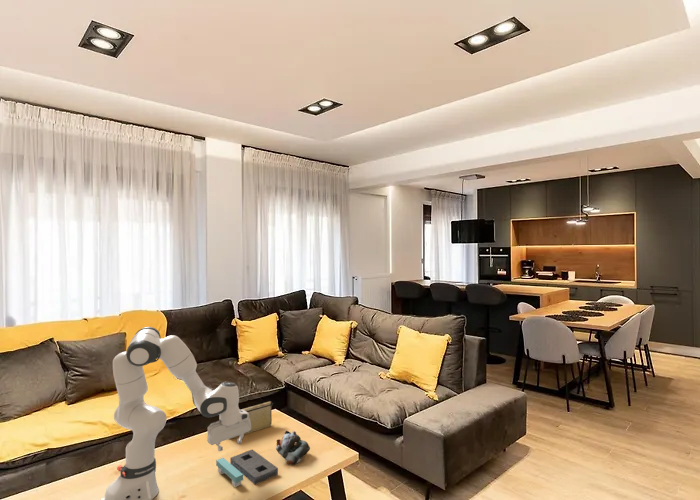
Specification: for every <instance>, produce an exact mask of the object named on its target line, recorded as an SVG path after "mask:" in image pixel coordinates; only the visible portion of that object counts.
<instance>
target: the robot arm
mask: <svg viewBox="0 0 700 500" xmlns="http://www.w3.org/2000/svg"><path fill="white" fill-rule="evenodd" d="M159 360H161V361H162V363H163V364H164V365H165V367H166V368H167V370H168V371H169V372H170V373H171V375H173V376H174V378H176V379H178V380H181V381H183V382H184V384H185V385H186V387H187V389H188V390H189V391H190V393H191V396H192V397H191V398H192V403H193V405H194V406H195V408H196V409H197V410H198V411H199V412H200V414H201V415H202V416H203V417H204V418H209V419H210V418H213V417H216V416H218V417H219V420H217V421H214V422H211V423H210V424H209V425H208V426H207V437H206V438H207V440H206V441H207V443H208V444H209V445H211V446H213V445H216V446H217V450H218V452H219V453H220V452H222V451H223V450H224V447H223V446H222V445H221V443H222V442H224V441H227V440H231V439H230V438H232V439H234V438H233V437H235V438H237V437H236V436H238V435H240V436H238V438H237V439H236V442H237V443H236V444H238V445H240V444H242V443H243V438H244V436H245V434H244V433H246V432H249V431H250V430H251V421H250V418H249V413H248V412H246V411H245V410H241V409H240V407H239V403H240V394H239V387H238V385H237V384H236V383H235V382H231V381H224V382H221V383H220V384H219V385H218V386H217V387H216V388H214V389H213V388H212V387H209V386H208V385H206V384H205V383H204V382H203V380H202V379H201V378H200V376H199V374H198V372H197V371H196V370H197V366H198V364H197V361H196V359H195V356H194V354H193V353H192V352H191V350H190V348H189V347H188V346H187V344H186V343H185V342H184V341H183V340H182V339H181V338H180V337H179V336H177V335H174V334H173V335H172V334H171V335H168V336H166V337H164V338H162V337H161V333H160V332H159V329H157V328H155V327H152V326H145V327H141V328H140V329H139V330H138V331H137V332H136V333H135V334H134V336H133V337H132V338H131V340H130V342H129V344H128V347H127V349H126V351H122V352H119V353H117V355H115V356H114V358H113V359H112V372H113V373H112V374H113V375H112V376H113V379H114V383H115V387H116V391H117V395H118V406H117V407H116V408H115V411H114V414H113V419H114V421H115V422H116V423H117V425H119V426H120V427H121V428H124V429H127V430H130V431H132V433H133V435H132V440H130V441H129V442H128V443H127V444H126V447H125V464H124V465H122V464H119V465H118V466H117V468H116V469H117V471H118V472H119V474H120V475H119V476H117V478H115V480H114V481H113V482H111V483H110V484H109V485H108V486H107V488H106V490H105V493H104V497H102V498H100V500H153V499H154V498H155V497H156V496H157V495H158V494H159V492H160V488H159V485H158V482H157V477H156V469H157V461H156V458H155V445H156V439H157V436H158V434H159V433H160V432H161V431H162V430H163V429H164V427H165V426H166V422H167V414H166V412H165V411H163V410H162V409H161V408H159V407H157V406H154V405H151V404H147V403H146V402H145V400H144V397H145V395H146V394H147V392H148V386H149V385H148V381H147V378H146V374H145V371H144V368H143V367H144V366H147V365H149V364H152V363H157V362H158V361H159Z"/></svg>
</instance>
